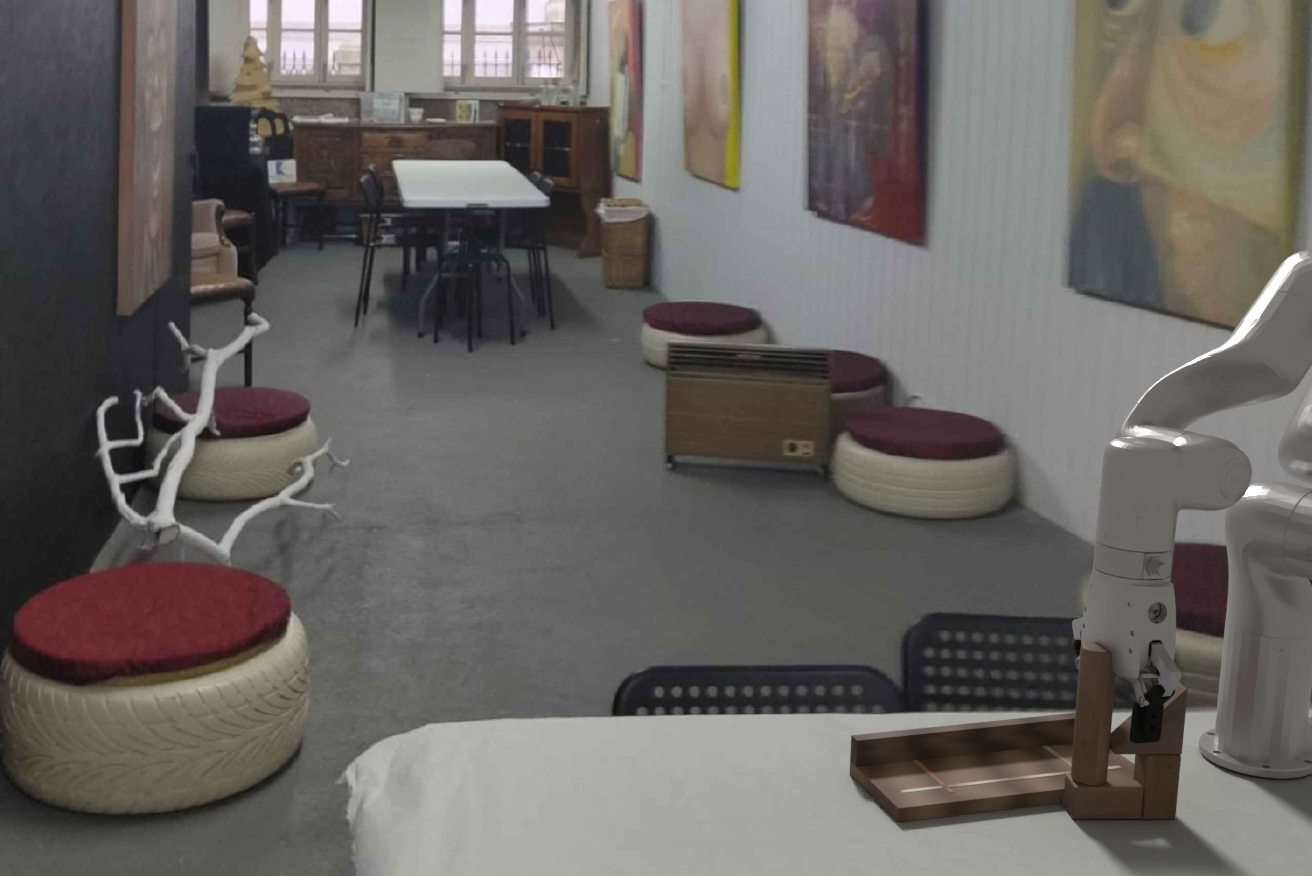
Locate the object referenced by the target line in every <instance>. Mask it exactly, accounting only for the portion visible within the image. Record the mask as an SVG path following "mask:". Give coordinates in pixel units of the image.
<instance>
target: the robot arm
mask: <svg viewBox="0 0 1312 876" xmlns="http://www.w3.org/2000/svg"><path fill="white" fill-rule="evenodd" d="M1311 368H1312V249H1306V250H1305V249H1304V250H1301V251H1298V252H1295V253H1293V254H1291V255H1290V256H1288V257H1287V258H1285V259H1284V260H1283V261H1282V263H1281V264H1280V265H1279V266H1278V267H1277V269H1276V270H1275V271H1274V273H1273V274H1272V276H1271V277H1270V278H1269V280H1268V281H1267V283H1266V284H1265V286H1264V287H1263V289H1262V290H1261V291H1260V293H1259V294H1258V295H1257V297H1256V298H1255V300H1254V301H1253V302H1252V304H1251V305H1250V307H1249V309H1248V310H1247V311H1246V313H1245V314H1244V316H1242V318H1241V320H1240V321H1239V323H1238V324H1237V326H1236V327H1235V328H1234V329H1233V331H1232V333H1231V334H1230V336H1229V337H1228V338H1227V340H1226V341H1225V342H1224V343H1223V344H1222V345H1220V346H1219V347H1217V348H1215V349H1212V350H1210V351H1207V352H1206V353H1204V354H1203V355H1202V354H1201V355H1200V356H1198V357H1196V358H1194V359H1192V360H1190V361H1189V362H1186V363H1185V364H1183V365H1182V366H1180V367H1178V368H1177V369H1175V370H1173V371H1171V372H1170V373H1169V372H1168V374H1166V375H1165V376H1163V377H1161V378H1160V379H1159V380H1158V381H1156V382H1155V383H1153V384H1152V385H1151V386H1150V387H1149V388H1148V389H1147V390H1146V391H1144V393H1143V394H1142V395H1141V396H1140V398H1139V399H1138V400H1137V402H1136V403H1135V405H1134V406H1133V407H1132V409H1131V411H1129V412H1128V414H1127V416H1126V418H1125V419H1123V422H1122V423H1121V425H1120V426H1119V428H1118V430H1117V432H1116V433H1115V435H1114V437H1113V439H1112V440H1111V441H1109V442H1108V444H1107V445H1106V447H1105V448H1104V452H1103V458H1102V467H1101V468H1102V469H1101V479H1100V488H1099V499H1098V509H1097V518H1096V519H1097V520H1096V531H1095V532H1096V533H1095V539H1094V540H1095V541H1094V550H1093V562H1092V571H1091V574H1090V579H1089V581H1088V586H1087V591H1086V596H1085V602H1084V608H1083V615H1082V616H1081V617H1079V618H1076V619H1073V620H1072V622H1071V627H1072V632H1073V639H1074V641H1073V648H1074V650H1075V655H1076V656H1077V658H1076V660H1075V666H1076V669H1077V670H1078V671H1077V675H1078V674H1079V661H1080V648H1081V646H1082V644H1084V643H1088V642H1096V643H1097V644H1099V645H1101V646H1102V647H1104V648H1106V649H1108V650H1110V651H1111V653H1112V671H1113V672H1114V673H1116V675H1118V676H1119V677H1121V678H1123V679H1125V680H1127V681H1130V682H1131V684H1132V687H1133V690H1134V695H1135V697H1136V701H1137V702H1135V703H1134V702H1133V704H1132V709H1131V710H1132V711H1131V715H1132V718H1131V728H1130V741H1131V742H1133V743H1135V744H1136V743H1149V742H1158V741H1159V740H1160V738H1161V729H1162V719H1163V710H1164V705H1167V704H1168V703H1169V699H1170V698H1171V697H1172V696H1174V694H1175V689H1176V687H1177V685H1178V683H1179V682H1180V683H1181V679H1182V672H1181V670H1180V669H1179V667H1178V665H1177V664H1176V662H1175V656H1176V655H1175V654H1176V642H1177V641H1176V637H1177V607H1176V605H1177V604H1176V595H1175V593H1176V592H1175V588H1174V583H1173V582H1171V581H1172V570H1173V561H1174V552H1175V543H1176V542H1175V541H1176V532H1177V522H1178V514H1179V512H1180V511H1184V510H1185V511H1186V510H1187V511H1198V512H1199V511H1201V512H1216V511H1222V510H1225V509H1226V513H1225V516H1224V517H1225V518H1224V536H1225V545H1226V553H1227V554H1226V555H1227V562H1228V563H1227V564H1228V567H1227V568H1228V585H1227V586H1228V588H1227V589H1228V590H1227V603H1226V613H1225V621H1224V622H1225V623H1224V634H1223V644H1222V653H1221V654H1222V655H1221V664H1220V676H1219V683H1218V693H1217V694H1218V695H1217V705H1216V715H1215V717H1216V718H1215V723H1214V724H1215V726H1214V728H1212V729H1208V730H1207V731H1205V732H1203V733H1202V734H1201V735H1200V736H1199V740H1198V741H1199V742H1198V749H1199V752H1200V753H1201V754H1202V755H1203V756H1204V757H1205V758H1206V759H1207V760H1209V761H1210V762H1212V763H1214V764H1215V765H1218V766H1219V767H1222V768H1225V769H1226V770H1230V771H1233V772H1236V773H1239V774H1243V775H1248V776H1252V777H1259V778H1265V779H1266V778H1267V779H1277V780H1278V779H1283V780H1285V779H1297V778H1303V777H1305V776H1309V775H1312V716H1309V713H1310V705H1311V697H1312V696H1311V695H1312V584H1311V581H1312V488H1310V487H1305V486H1302V485H1296V484H1291V483H1287V482H1278V481H1259V482H1254V483H1251V481H1252V477H1253V476H1252V475H1253V470H1252V467H1253V466H1252V464H1251V460H1250V459H1249V456H1248V454H1247V453H1246V452H1245V450H1243V449H1242V447H1240V446H1239V445H1237V444H1235V443H1234V442H1232V441H1230V440H1227V439H1225V438H1222V437H1217V436H1212V435H1209V434H1208V435H1207V434H1202V433H1197V432H1195V431H1189V430H1185V429H1186V428H1188V427H1189V426H1191V425H1192V424H1193V423H1196V422H1197V421H1200V420H1201V419H1203V418H1206V417H1208V416H1211V415H1213V414H1214V415H1215V414H1217V413H1220V412H1221V413H1222V412H1224V411H1229V410H1233V409H1237V408H1245V407H1249V406H1253V405H1257V404H1262V403H1266V402H1269V401H1274V400H1277V399H1280V398H1283V397H1286V396H1288V395H1289V394H1291V393H1292V392H1294V391H1295V390H1296V389H1297V388H1298V387H1299V385H1300V383H1302V381H1303V379H1305V377H1306V375H1307V373H1308V372H1309V371H1310V369H1311ZM1277 459H1278V463H1279V465H1280V467H1281V469H1282V470H1283V471H1284V472H1286V474H1287V475H1288V476H1290V477H1292V478H1294V479H1296V480H1298V481H1301V482H1304V483H1308V484H1310V485H1312V376H1311V377H1310V378H1309V381H1308V383H1307V385H1306V387H1305V389H1304V391H1303V393H1302V395H1301V396H1300V399H1299V400H1298V403H1297V404H1296V407H1295V409H1294V410H1293V413H1292V415H1291V417H1290V419H1289V421H1288V423H1287V425H1286V426H1285V428H1284V431H1283V434H1282V436H1281V439H1280V441H1279V445H1278V448H1277ZM1310 580H1311V581H1310ZM1141 671H1142V672H1141ZM1143 671H1146V672H1143ZM1145 683H1151V685H1152V687H1151V688H1150V689H1149V690H1148V691H1147V688H1146V684H1145ZM1077 687H1078V678H1077V680H1076V688H1077ZM1075 691H1076V692H1075V703H1074V704H1075V705H1074V706H1076V700H1077V689H1075Z"/></svg>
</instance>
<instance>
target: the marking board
mask: <svg viewBox="0 0 1312 876" xmlns="http://www.w3.org/2000/svg"><path fill="white" fill-rule="evenodd" d="M1075 713H1076V712H1069V713H1059V714H1048V715H1039V716H1038V715H1037V716H1029V717H1020V718H1009V719H999V720H989V721H980V722H972V723H971V722H970V723H961V724H960V723H959V724H949V725H942V726H941V725H940V726H932V727H931V726H930V727H922V728H921V727H919V728H912V729H911V728H910V729H902V730H900V729H899V730H893V731H892V730H891V731H884V732H883V731H882V732H871V733H862V734H852V735H851V736H850V740H851V741H850V758H849V760H850V761H849V776H851V777H852V778H853V779H854V781H856V782H857V783H858V785H860V787H862V788H863V789H864V790H865V791H866V792H867V793H868V794H869V795H870V796H871V797H872V798H873V799H874V800H875V801H876V802H877V803H878V804H879V805H880V806H881V807H882V808H883V810H885V811H886V812H887V814H889V815H890V816H891V817H892V818H893V819H894V820H895V821H896V822H897V823H904V822H910V821H918V820H919V821H920V820H927V819H935V818H942V817H951V816H961V815H968V814H969V815H970V814H977V813H985V812H993V811H994V812H995V811H1002V810H1009V809H1017V808H1026V807H1034V806H1035V807H1036V806H1042V805H1052V804H1061V803H1063V799H1064V785H1065V776H1066V774H1071V765H1072V752H1073V739H1074V726H1075ZM1134 764H1135V762H1132V761H1130V760H1129V759H1127V758H1126V757H1125V756H1124V755H1123V754H1114V753H1113V752H1112V751H1111V749H1109V761H1108V774H1117V775H1120V776H1124V777H1127V778H1130V779H1133V776H1134Z"/></svg>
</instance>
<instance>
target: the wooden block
mask: <svg viewBox="0 0 1312 876" xmlns="http://www.w3.org/2000/svg"><path fill="white" fill-rule="evenodd" d="M1078 671H1079V674H1078V673H1077V679H1078V687H1077V686H1076V690H1077V700H1076V699H1075V700H1076V705H1075V712H1074V713H1075V726H1074V739H1073V752H1072V765H1071V774H1066V776H1065V785H1064V799H1063V802H1062V804H1063V806H1064V808H1065V810H1066V811H1067V812H1068V814H1069V815H1070V816H1071V818H1072V819H1074V820H1139V819H1143V820H1175V819H1176V818H1177V817H1176V816H1177V815H1176V814H1177V805H1178V804H1177V803H1178V795H1179V794H1178V793H1179V785H1180V784H1179V783H1180V772H1181V763H1182V756H1181V755H1182V754H1183V744H1184V734H1185V733H1184V732H1185V723H1186V712H1187V699H1188V691H1189V690H1188V689H1187V687H1185V686H1184V685H1183V684H1182V683H1181V681H1180V682H1179V683H1178V685H1177V687H1176V689H1175V694H1174V696H1172V697H1171V698H1170V699H1169V703H1168V704H1167V705H1164V710H1163V719H1162V729H1161V738H1160V740H1159V741H1158V742H1149V743H1136V744H1135V743H1133V742H1131V741H1130V728H1131V718H1132V714H1131V715H1130V716H1128V717H1127V718H1126V719H1125V720H1124V721H1122V722H1121V724H1119V725H1118V726H1117V727H1116V728H1114V729H1113V731H1112V724H1113V723H1112V722H1113V710H1114V696H1115V685H1116V675H1117V674H1116V673H1114V672H1113V671H1112V653H1111V651H1110V650H1108V649H1106V648H1104V647H1102V646H1101V645H1099V644H1097V643H1096V642H1088V643H1084V644H1082V646H1081V648H1080V661H1079V669H1078ZM1109 749H1111V751H1112V752H1113V753H1114V754H1120V755H1135V757H1134V776H1133V779H1130V778H1127V777H1124V776H1120V775H1117V774H1108V761H1109Z"/></svg>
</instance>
